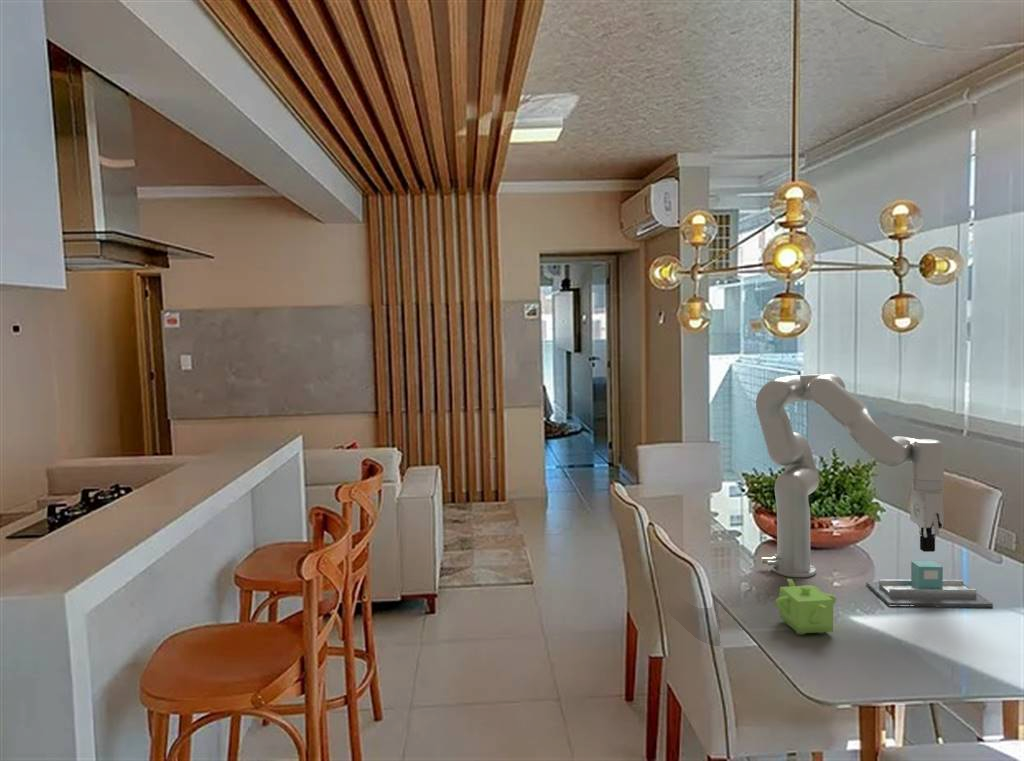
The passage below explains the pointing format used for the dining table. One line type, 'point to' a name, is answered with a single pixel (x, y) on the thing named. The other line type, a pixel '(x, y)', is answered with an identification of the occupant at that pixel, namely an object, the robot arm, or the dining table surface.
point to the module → (926, 575)
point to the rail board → (928, 594)
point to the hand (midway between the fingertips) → (927, 550)
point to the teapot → (806, 608)
